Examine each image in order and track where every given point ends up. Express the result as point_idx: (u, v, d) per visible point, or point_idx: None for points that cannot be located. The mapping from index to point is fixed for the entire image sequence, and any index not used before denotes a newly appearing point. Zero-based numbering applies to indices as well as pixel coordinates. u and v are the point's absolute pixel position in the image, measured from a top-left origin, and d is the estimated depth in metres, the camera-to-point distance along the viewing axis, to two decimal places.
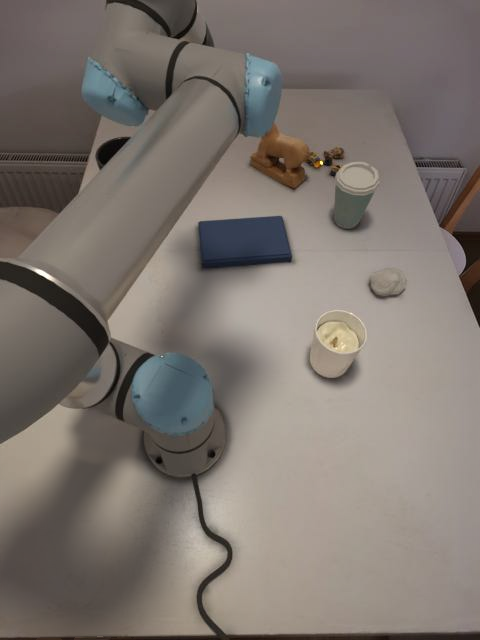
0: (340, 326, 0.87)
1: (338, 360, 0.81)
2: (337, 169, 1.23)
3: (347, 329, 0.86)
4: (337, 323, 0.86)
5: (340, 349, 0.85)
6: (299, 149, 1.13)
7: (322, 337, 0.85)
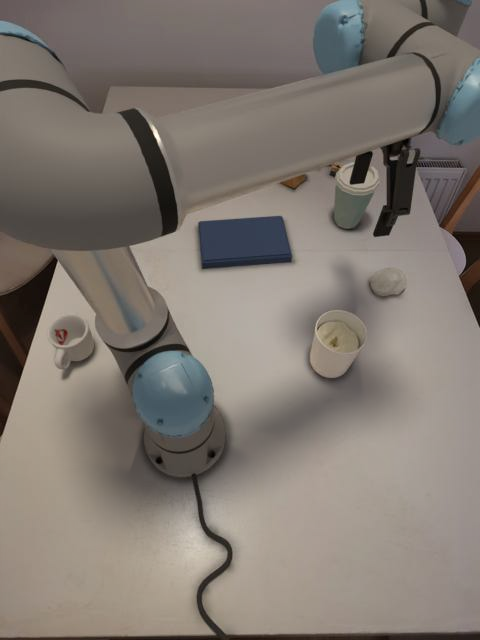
0: (340, 326, 0.87)
1: (338, 360, 0.81)
2: (337, 169, 1.23)
3: (347, 329, 0.86)
4: (337, 323, 0.86)
5: (340, 349, 0.85)
6: None
7: (322, 337, 0.85)
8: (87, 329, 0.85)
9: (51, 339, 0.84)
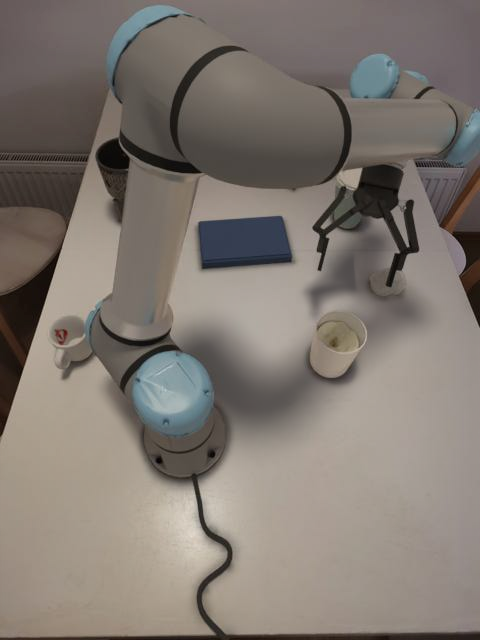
0: (340, 326, 0.87)
1: (338, 360, 0.81)
2: None
3: (347, 329, 0.86)
4: (337, 323, 0.86)
5: (340, 349, 0.85)
6: None
7: (322, 337, 0.85)
8: None
9: (51, 339, 0.84)
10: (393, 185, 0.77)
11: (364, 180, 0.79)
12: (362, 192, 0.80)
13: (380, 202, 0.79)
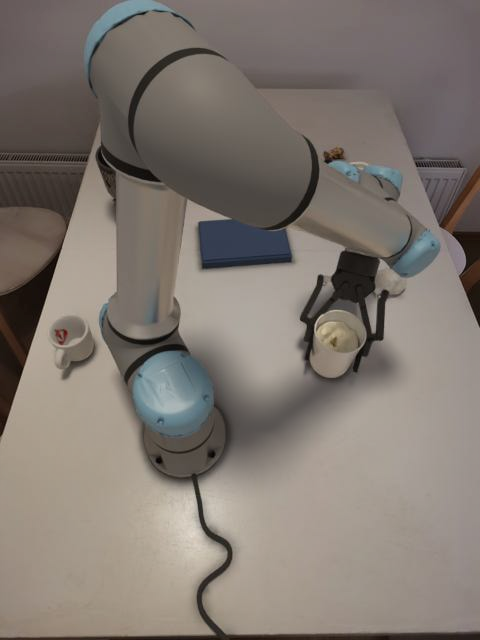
0: (339, 326, 0.87)
1: (337, 360, 0.81)
2: None
3: (347, 329, 0.86)
4: (337, 323, 0.86)
5: (340, 349, 0.85)
6: None
7: (322, 337, 0.85)
8: (87, 329, 0.85)
9: (51, 339, 0.84)
10: (369, 274, 0.79)
11: (341, 267, 0.80)
12: (339, 277, 0.82)
13: (357, 288, 0.81)
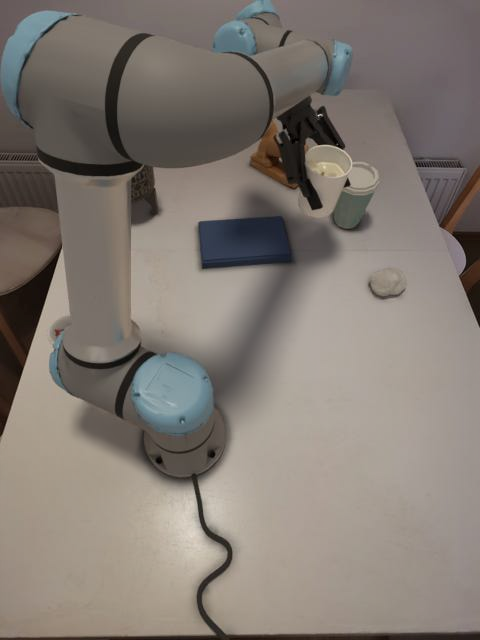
0: (310, 167, 0.91)
1: (344, 182, 0.88)
2: None
3: (315, 164, 0.92)
4: (308, 166, 0.90)
5: None
6: None
7: None
8: None
9: (51, 339, 0.84)
10: (311, 99, 0.83)
11: (292, 111, 0.82)
12: (292, 122, 0.83)
13: (310, 119, 0.85)
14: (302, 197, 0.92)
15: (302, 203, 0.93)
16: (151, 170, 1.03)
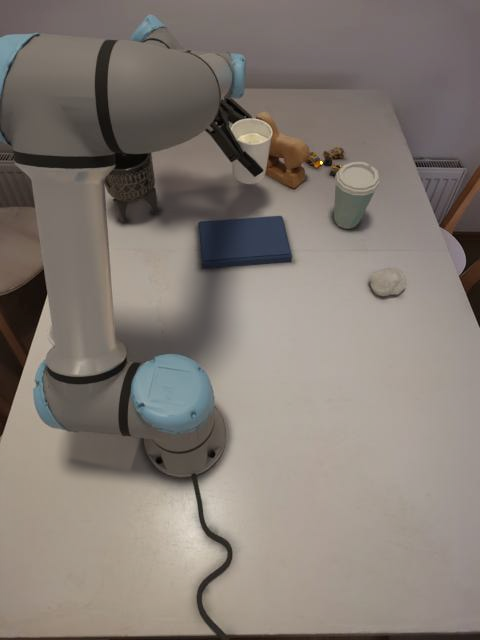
0: None
1: None
2: (337, 169, 1.23)
3: (237, 140, 1.04)
4: None
5: None
6: (299, 149, 1.13)
7: None
8: None
9: (51, 339, 0.84)
10: None
11: None
12: None
13: (222, 103, 0.96)
14: (240, 170, 1.04)
15: (242, 175, 1.05)
16: (151, 170, 1.03)
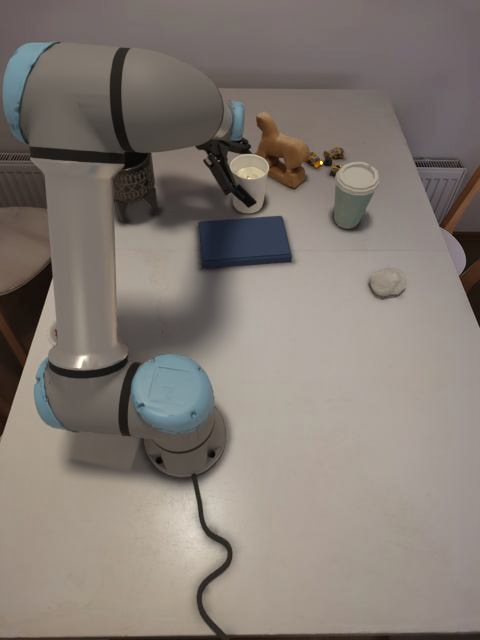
0: None
1: None
2: (337, 169, 1.23)
3: (236, 173, 1.12)
4: None
5: None
6: (299, 149, 1.13)
7: None
8: None
9: (51, 339, 0.84)
10: None
11: (211, 139, 1.00)
12: (214, 147, 1.02)
13: (223, 140, 1.04)
14: (240, 201, 1.12)
15: (241, 206, 1.13)
16: (151, 170, 1.03)
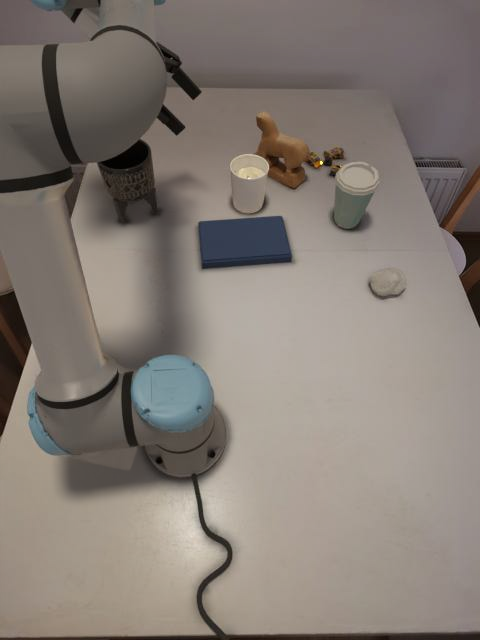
0: None
1: (267, 176, 1.10)
2: (337, 169, 1.23)
3: (236, 173, 1.12)
4: None
5: None
6: (299, 149, 1.13)
7: None
8: None
9: None
10: None
11: None
12: None
13: None
14: (240, 201, 1.12)
15: (241, 206, 1.13)
16: (151, 170, 1.03)
